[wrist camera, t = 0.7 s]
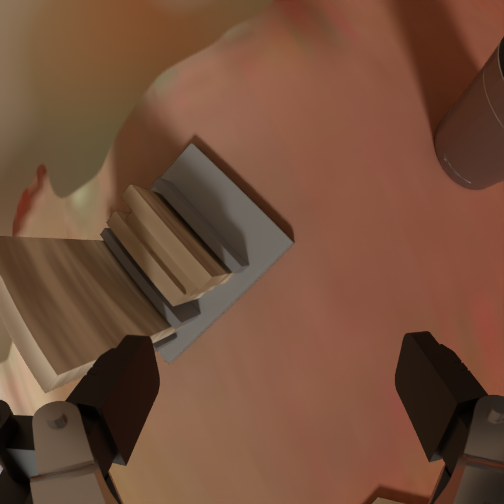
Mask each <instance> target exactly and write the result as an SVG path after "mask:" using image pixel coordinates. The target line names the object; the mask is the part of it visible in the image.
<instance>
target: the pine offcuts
mask: <svg viewBox="0 0 504 504" xmlns="http://www.w3.org/2000/svg"><path fill="white" fill-rule="evenodd" d="M121 197H122V199H123V200H124V201H125V203H126V204H127V205H128V206H129V207H130V209H131V210H132V212H131V213H125V212H119V211H115V212H114V213H113V214H112V216H111V217H110V218H109V220H108V221H107V222H106V223H107V224H108V226H109V227H110V228H111V230H112V231H113V232H114V234H115V235H116V236H117V238H118V239H119V240H120V242H121V243H122V244H123V245H124V247H125V248H126V249H127V251H128V252H129V253H130V254H131V256H132V257H133V258H134V260H135V261H136V262H137V263H138V265H139V266H140V267H141V268H142V270H143V271H144V272H145V273H146V275H147V276H148V277H149V278H150V280H151V281H152V282H153V283H154V284H155V286H156V287H157V288H158V289H159V290H160V292H161V293H162V294H163V295H164V296H165V298H166V299H167V300H168V301H169V302H170V304H171V305H172V306H176V305H179V304H182V303H185V302H188V301H191V300H194V299H197V298H200V297H201V296H202V295H203V294H204V293H205V292H206V291H209V290H212V289H213V288H214V287H215V286H216V285H219V284H223V283H226V282H227V281H228V280H229V279H230V278H231V277H232V276H233V275H234V273H233V272H232V271H231V270H230V269H229V268H228V267H227V266H226V264H225V263H224V262H223V261H222V260H221V259H220V258H219V257H218V256H217V255H216V254H215V253H214V251H213V250H212V249H211V248H210V247H209V246H208V245H207V244H206V243H205V242H204V241H203V239H202V238H201V237H200V236H199V235H198V234H197V233H196V232H195V231H194V230H193V229H192V227H191V226H190V225H189V224H188V223H187V222H186V221H185V220H184V219H183V218H182V216H181V215H180V214H179V213H178V212H177V211H176V210H175V209H174V208H173V206H172V205H171V204H170V203H169V202H168V201H167V200H166V199H165V198H164V196H163V195H162V194H160V193H157V192H154V191H151V190H148V189H145V188H142V187H139V186H135V185H132V184H130V185H129V187H128V188H127V189H126V191H125V192H124V193H123V194H122V196H121Z"/></svg>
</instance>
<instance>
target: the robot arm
mask: <svg viewBox="0 0 504 504" xmlns="http://www.w3.org/2000/svg"><path fill="white" fill-rule="evenodd" d="M435 149H436V154H437V157H438V160H439V162H440V164H441V166H442V167H443V169H444V171H445V172H446V173H447V174H448V176H449V177H450V178H451V179H453V180H454V181H455V182H456V183H458V184H459V185H461V186H463V187H465V188H468V189H473V190H480V189H485V188H487V187H489V186H492V185H494V184H496V183H499V182H502V181H504V37H503V39H502V40H501V42H500V43H499V45H498V46H497V47H496V49H495V50H494V52H493V53H492V55H491V56H490V57H489V59H488V60H487V62H486V63H485V65H484V66H483V67H482V69H481V70H480V72H479V73H478V74H477V76H476V77H475V78H474V80H473V81H472V82H471V84H470V85H469V86H468V88H467V89H466V90H465V92H464V93H463V94H462V96H461V97H460V98H459V100H458V101H457V102H456V103H455V105H454V106H453V107H452V108H451V110H450V111H449V112H448V114H447V115H446V116H445V117H444V119H443V120H442V121H441V123H440V124H439V126H438V128H437V130H436V135H435ZM467 369H468V368H467V367H466V366H465V365H464V363H461V360H460V358H459V357H458V356H457V355H456V354H455V352H454V351H452V350H451V349H449V348H447V347H446V346H444V345H443V344H440V345H439V343H438V342H437V341H436V340H435V338H434V337H433V336H432V335H431V333H430V332H428V331H423V332H413V333H406V334H405V336H404V338H403V342H402V346H401V351H400V356H399V360H398V364H397V368H396V373H395V386H396V390H397V392H398V394H399V396H400V399H401V401H402V403H403V405H404V407H405V409H406V411H407V414H408V416H409V418H410V420H411V422H412V424H413V427H414V429H415V431H416V433H417V436H418V438H419V440H420V442H421V445H422V447H423V449H424V452H425V454H426V456H427V459H428V461H429V462H432V461H436V460H440V459H443V460H444V462H445V465H444V466H443V468H442V470H441V473H440V475H439V478H438V480H437V483H436V485H435V488H434V490H433V492H432V495H431V497H430V499H429V501H428V504H504V397H503V396H499V395H488V394H487V393H486V391H485V390H484V389H483V387H482V386H481V385H480V384H479V382H478V381H477V380H476V378H475V377H474V376H473V375H472V373H471V372H470V371H468V370H467ZM159 386H160V377H159V371H158V367H157V362H156V357H155V352H154V347H153V342H152V339H151V337H150V336H143V335H129V334H128V335H126V336H125V337H124V338H123V339H122V341H121V342H120V343H119V345H118V346H117V347H116V348H111V349H109V350H108V351H106V352H105V353H103V354H102V355H100V356H99V358H98V359H97V360H96V361H95V363H94V364H93V367H91V368H90V369H89V370H88V372H87V375H85V376H84V377H83V378H82V379H81V381H80V382H79V383H78V385H77V386H76V387H75V389H74V390H73V391H72V393H71V394H70V395H69V397H68V398H67V399H66V401H55V402H51V403H48V404H45V405H44V406H42V407H41V408H39V409H38V410H37V411H36V413H35V414H34V416H22V415H13V413H12V411H11V409H10V407H9V405H8V404H7V403H6V402H5V401H3V400H0V465H1V466H2V467H3V471H2V472H1V474H0V504H123V501H122V499H121V497H120V495H119V492H118V490H117V488H116V486H115V483H114V481H113V478H112V476H111V474H110V472H109V469H110V467H111V465H112V463H116V464H120V465H125V466H126V465H127V463H128V460H129V458H130V456H131V453H132V451H133V449H134V446H135V444H136V442H137V440H138V437H139V435H140V433H141V430H142V428H143V426H144V423H145V421H146V419H147V417H148V414H149V412H150V410H151V408H152V405H153V403H154V401H155V399H156V396H157V394H158V391H159Z"/></svg>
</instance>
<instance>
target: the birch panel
mask: <svg viewBox="0 0 504 504" xmlns="http://www.w3.org/2000/svg"><path fill="white" fill-rule="evenodd" d="M0 317H1V319H2V321H3V323H4V325H5V327H6V329H7V330H8V332H9V334H10V336H11V338H12V340H13V342H14V344H15V345H16V347H17V349H18V351H19V352H20V354H21V356H22V358H23V359H24V361H25V363H26V364H27V366H28V368H29V369H30V371H31V372H32V374H33V376H34V377H35V379H36V380H37V382H38V383H39V385H40V386H41V388H42V389H43V391H44V392H45V393H47V392H49V391H52V390H54V389H56V388H58V387H61V386H63V385H65V384H67V383H69V382H72V381H74V380H76V379H78V378H81V377H83V376H85V375H87V372H88V370H89V369H90V368H91V367H93V364H94V363H95V361H96V360H97V359H98V358H99V356H100V355H102V354H103V353H105V352H106V351H108V350H109V349H111V348H116V347H117V346H118V345H119V343H120V342H121V341H122V339H123V338H124V337H125V336H126V335H128V334H129V335H143V336H150V337H151V339H152V342H153V343H155V342H157V341H159V340H161V339H163V338H165V337H167V336H169V335H171V334H173V333H175V332H177V331H178V330H179V329H180V328H181V327H182V326H181V327H179V328H177V329H174V328H173V327H172V326H171V324H170V323H169V322H168V321H167V320H166V319H165V317H164V316H163V315H162V314H161V313H160V311H159V310H158V309H157V308H156V307H155V305H154V304H153V303H152V302H151V300H150V299H149V298H148V297H147V296H146V294H145V293H144V292H143V291H142V289H141V288H140V287H139V286H138V284H137V283H136V282H135V280H134V279H133V278H132V277H131V275H130V274H129V273H128V271H127V270H126V269H125V268H124V266H123V265H122V264H121V262H120V261H119V260H118V258H117V257H116V256H115V254H114V253H113V252H112V250H111V249H110V248H109V246H108V245H107V243H106V242H105V241H99V240H77V239H55V238H32V237H8V236H0Z"/></svg>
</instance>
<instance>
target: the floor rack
mask: <svg viewBox="0 0 504 504" xmlns="http://www.w3.org/2000/svg"><path fill="white" fill-rule="evenodd" d="M153 185H154V186H153V187H152V188H151V189H150V190H151V191H154V192H157V193H160V194H162V195H163V196H164V198H165V199H166V200H167V201H168V202H169V203H170V204H171V205H172V206H173V208H174V209H175V210H176V211H177V212H178V213H179V214H180V215H181V216H182V218H183V219H184V220H185V221H186V222H187V223H188V224H189V225H190V226H191V227H192V229H193V230H194V231H195V232H196V233H197V234H198V235H199V236H200V237H201V238H202V239H203V241H204V242H205V243H206V244H207V245H208V246H209V247H210V248H211V249H212V250H213V251H214V253H215V254H216V255H217V256H218V257H219V258H220V259H221V260H222V261H223V262H224V263H225V264H226V266H227V267H228V268H229V269H230V270H231V271H232V272H233V273H234V275H233V276H232V277H231V278H230V279H229V280H228V281H227V282H226V283H223V284H219V285H216V286H215V287H214V288H213V289H212V290H209V291H206V292H205V293H204V294H203V295H202V296H201V297H200V298H197V299H194V300H191V301H188V302H185V303H182V304H179V305H176V306H172V305H171V304H170V302H169V301H168V300H167V299H166V298H165V296H164V295H163V294H162V293H161V292H160V290H159V289H158V288H157V287H156V286H155V284H154V283H153V282H152V281H151V280H150V278H149V277H148V276H147V275H146V273H145V272H144V271H143V270H142V268H141V267H140V266H139V265H138V263H137V262H136V261H135V260H134V258H133V257H132V256H131V254H130V253H129V252H128V251H127V249H126V248H125V247H124V245H123V244H122V243H121V242H120V240H119V239H118V238H117V236H116V235H115V234H114V232H113V231H112V230H111V228H105V229H104V230H103V231H102V233H101V234H100V235H101V237H102V238H103V239H104V241H105V242H106V243H107V245H108V246H109V248H110V249H111V250H112V252H113V253H114V254H115V256H116V257H117V258H118V260H119V261H120V262H121V264H122V265H123V266H124V268H125V269H126V270H127V271H128V273H129V274H130V275H131V277H132V278H133V279H134V280H135V282H136V283H137V284H138V286H139V287H140V288H141V289H142V291H143V292H144V293H145V294H146V296H147V297H148V298H149V299H150V300H151V302H152V303H153V304H154V305H155V307H156V308H157V309H158V310H159V311H160V313H161V314H162V315H163V316H164V317H165V319H166V320H167V321H168V322H169V323H170V324H171V326H172V327H173V328H174V329H177V328H179V327H181V326H182V327H181V328H180V329H179V330H178V331H177V332H175V333H173V334H171V335H169V336H167V337H165V338H163V339H161V340H159V341H157V342H155V343H153V347H154V352H155V351H158V352H159V353H160V354H161V356H162V357H163V358H164V359H165V360H166V361H167V363H168V364H169V363H171V362H172V361H174V360H175V359H176V358H177V357H178V356H179V355H180V354H181V353H182V352H183V351H185V350H186V349H187V348H188V347H189V346H190V345H191V344H192V343H193V342H194V341H195V340H196V339H197V338H198V337H199V336H200V335H201V334H202V333H203V332H204V331H205V330H206V329H208V328H209V327H210V326H211V325H212V324H213V323H214V322H215V321H216V320H217V319H218V318H219V317H220V316H221V315H222V314H223V313H224V312H225V311H226V310H227V309H228V308H229V307H230V306H231V305H232V304H233V303H234V302H235V301H236V300H237V299H238V298H240V297H241V296H242V295H243V294H244V293H245V292H246V291H247V290H248V289H249V288H250V287H251V286H252V285H253V284H254V283H255V282H256V281H257V280H258V279H259V278H260V277H261V276H262V275H263V274H264V273H265V272H266V271H267V270H268V269H269V268H270V267H271V266H272V265H273V264H274V263H275V262H276V261H277V260H278V259H279V258H280V257H281V256H282V255H283V254H284V253H285V252H286V251H287V250H288V249H289V248H290V247H291V246H292V245H293V244H294V242H293V241H292V240H291V239H290V238H289V237H288V236H287V235H286V234H285V233H284V232H283V231H282V230H281V229H280V228H279V227H278V226H277V225H276V224H275V223H274V222H273V221H272V220H271V219H270V218H269V217H268V216H267V215H266V214H265V213H264V212H263V211H262V210H261V209H260V208H259V207H258V206H257V205H256V204H255V203H254V202H253V201H252V200H251V199H250V198H249V197H248V196H247V195H246V194H245V193H244V192H243V191H242V190H241V189H240V188H239V187H238V186H237V185H236V184H235V183H234V182H233V181H232V180H231V179H230V178H229V177H228V176H227V175H226V174H225V173H224V172H223V171H222V170H221V169H220V168H218V167H217V166H216V165H215V164H214V163H213V162H212V161H211V160H210V159H209V158H208V157H207V156H206V155H205V154H204V153H203V152H202V151H201V150H200V149H199V148H198V147H196V146H195V145H194V144H192V143H191V144H190V145H189V146H188V147H187V148H186V149H185V151H184V152H183V153H182V154H181V155H180V156H179V157H178V158H177V159H176V160H175V162H174V163H173V164H172V165H171V166H170V167H169V168H168V170H167V171H166V172H165V173H164V174H163V175H162V176H161V178H160V177H158V178H157V179H156V180H155V181H154V182H153Z"/></svg>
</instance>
